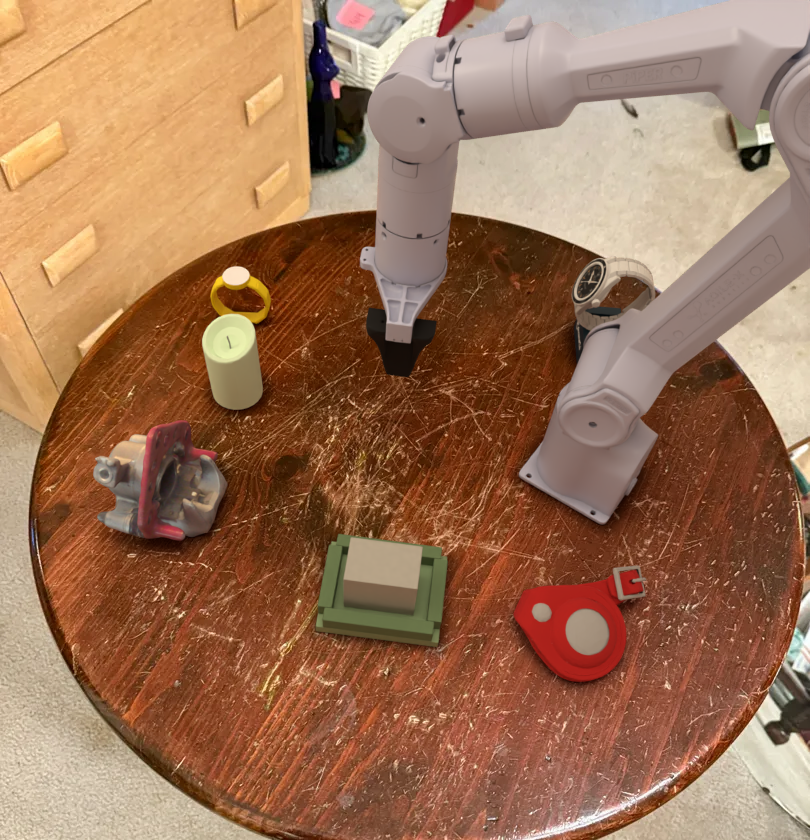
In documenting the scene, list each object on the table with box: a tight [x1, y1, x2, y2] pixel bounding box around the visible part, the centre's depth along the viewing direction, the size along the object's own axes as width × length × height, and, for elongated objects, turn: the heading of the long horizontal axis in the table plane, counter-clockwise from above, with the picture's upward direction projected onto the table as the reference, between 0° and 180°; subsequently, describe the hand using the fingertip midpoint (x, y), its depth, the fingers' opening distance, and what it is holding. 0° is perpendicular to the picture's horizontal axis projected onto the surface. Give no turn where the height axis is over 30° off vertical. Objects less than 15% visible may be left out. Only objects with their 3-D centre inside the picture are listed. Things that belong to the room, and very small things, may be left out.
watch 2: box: [209, 266, 272, 325], centre depth 84 cm, size 6×3×6 cm, turn 86°
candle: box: [201, 314, 264, 411], centre depth 78 cm, size 5×5×8 cm
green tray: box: [315, 533, 449, 648], centre depth 70 cm, size 10×8×2 cm
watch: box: [571, 256, 656, 365], centre depth 83 cm, size 6×8×11 cm
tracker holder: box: [513, 564, 647, 683], centre depth 70 cm, size 12×4×10 cm
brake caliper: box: [92, 419, 228, 542], centre depth 71 cm, size 11×11×12 cm
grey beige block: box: [343, 537, 423, 615], centre depth 68 cm, size 6×4×5 cm, turn 83°
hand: (403, 341), depth 74 cm, fingers open, 7 cm apart
